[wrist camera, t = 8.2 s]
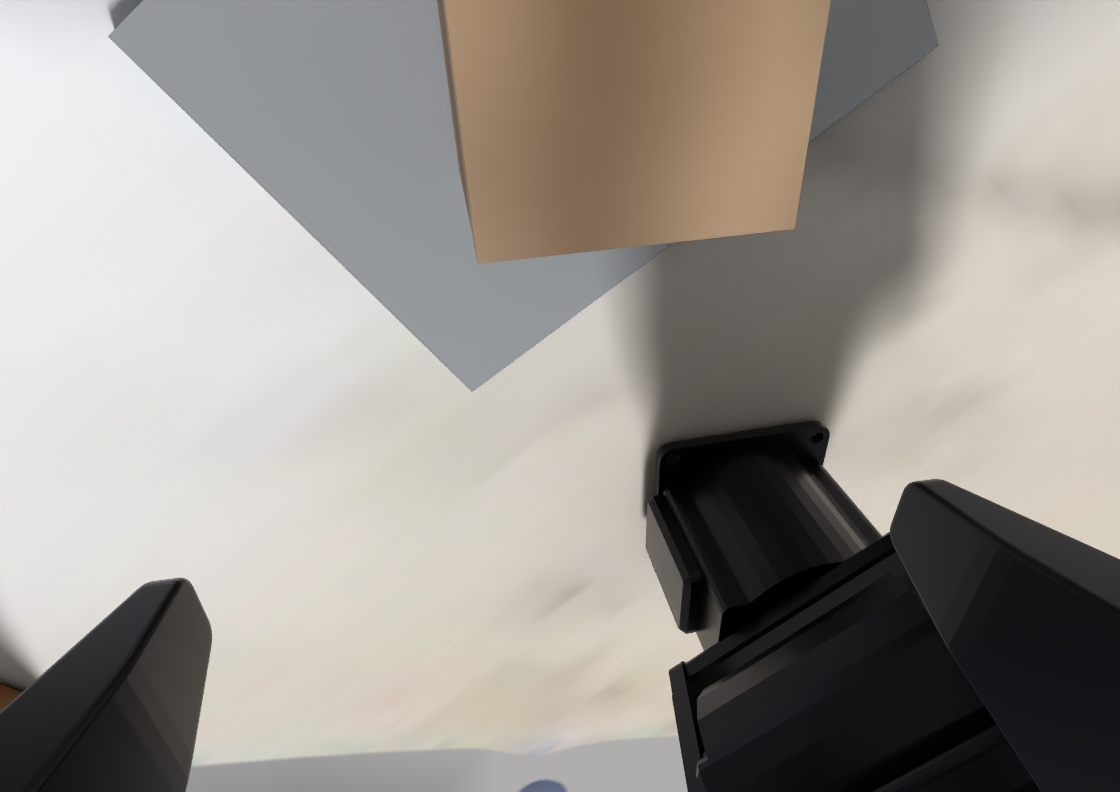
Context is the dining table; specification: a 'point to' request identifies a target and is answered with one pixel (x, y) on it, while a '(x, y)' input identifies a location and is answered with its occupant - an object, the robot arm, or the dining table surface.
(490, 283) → the mat
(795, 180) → the stool
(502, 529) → the dining table surface
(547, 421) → the dining table surface
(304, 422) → the dining table surface
